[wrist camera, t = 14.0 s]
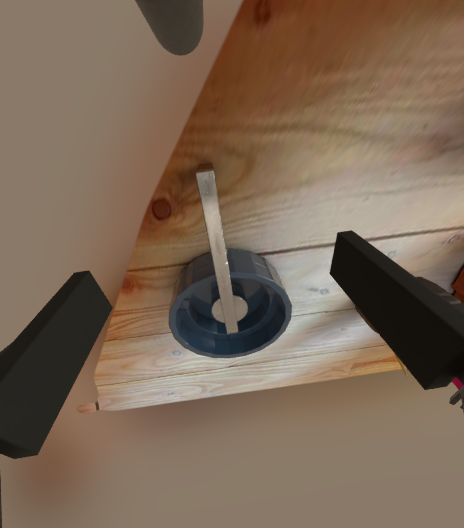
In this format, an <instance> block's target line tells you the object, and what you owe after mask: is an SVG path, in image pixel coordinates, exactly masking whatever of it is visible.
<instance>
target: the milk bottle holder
mask: <svg viewBox="0 0 464 528" xmlns="http://www.w3.org/2000/svg"><path fill="white" fill-rule="evenodd" d="M452 288H453V289H455V290H456V291H457V292H456V293H455V295H454V297H456V298H457V299H459V300H460V301H461V303H464V268H463V270H462V272H461V273H460V275H459V277H458V278H457V280H456V282H455V283H454V285H453V286H452Z"/></svg>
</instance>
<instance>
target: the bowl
mask: <svg viewBox="0 0 464 528" xmlns="http://www.w3.org/2000/svg"><path fill="white" fill-rule="evenodd" d="M226 254H227V260H228V267H229V273H230V280H231V283H235V284H237V285H239V286H241V287H242V288H243V290H244V292H245V297H246V301H247V305H248V311H247V314H246V315H245V317H244V318H242V319H241V320H239V321H237V325H238V332H236V333H230V334H227V331H226V326H225V323H223V322H220V321H218V320H216V319H215V318H214V317H213V315H212V309H211V295H212V292H213V290H214V289H215V288H216V287H217V286H218V285H217V280H216V275H215V270H214V265H213V260H212V255H211V252H209V253H207V254H205V255H203V256H201V257H199V258H196V259H194V260H193V261H192V262H191V263H190V264H189V265H188V266H186V267H185V268H184V269H183V270H182V271H181V273H180V275H179V277H178V279H177V281H176V283H175V286H174V291H173V296H172V301H171V306H170V311H169V327H170V329H171V331H172V334H173V336H174V338H175V339H176V340H177V341H178V342H179V343H180V344H181V345H182V346H183V347H184V348H186V349H188V350H190V351H192V352H194V353H196V354H199V355H203V356H207V357H212V358H234V357H240V356H246V355H249V354H252V353H255V352H257V351H260V350H262V349H264V348H265V347H267V346H269V345H270V344H272V343H273V342H274V341H276V340H277V339H278V338H279V337H280V336H281V335H282V334H283V333H284V331H285V330H286V328H287V326H288V324H289V322H290V320H291V311H292V305H291V302H290V300H289V297H288V295H287V293H286V291H285V289H284V287H283V284H282V282H281V280H280V278H279V276H278V274H277V272H276V270H275V268H274V267H273V266H272V265H271V264H270V263H269V262H268V261H267V260H266V259H265V258H263V257H261V256H258V255H256V254H254V253H252V252H250V251H244V250H236V249H226Z"/></svg>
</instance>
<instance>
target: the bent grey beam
mask: <svg viewBox="0 0 464 528" xmlns="http://www.w3.org/2000/svg"><path fill="white" fill-rule="evenodd" d="M196 178H197V183H198V189H199V194H200V199H201V204H202V209H203V214H204V219H205V224H206V229H207V234H208V239H209V245H210V250H211V255H212V260H213V265H214V270H215V275H216V280H217V285H218V286H217V287H216V288H215V289H214V290H213V292H212V295H211V309H212V315H213V317H214V318H215V319H216V320H218V321H220V322H223V323H225V326H226V331H227V334H230V333H236V332H238V325H237V321H239V320H241V319H242V318H244V317H245V315H246V314H247V311H248V305H247V301H246V297H245V292H244V290H243V288H242V287H241V286H239V285H237V284H235V283H231V280H230V273H229V267H228V260H227V254H226V247H225V241H224V234H223V228H222V221H221V215H220V208H219V202H218V195H217V189H216V182H215V176H214V169H213V164H212V163H206V164H199V166H198V169H197V171H196Z"/></svg>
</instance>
